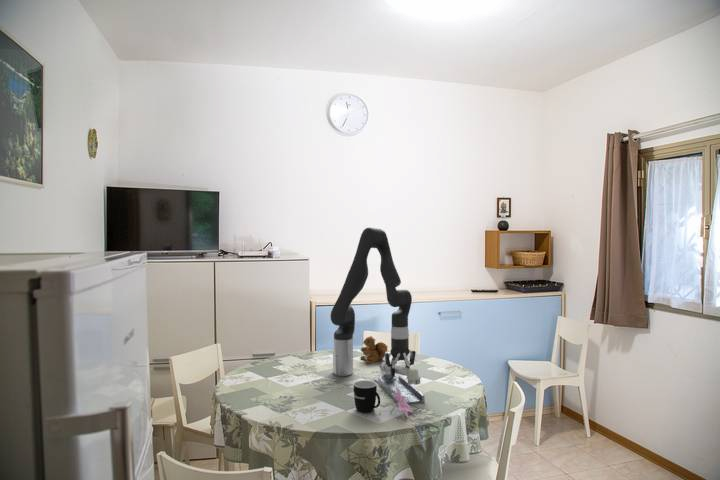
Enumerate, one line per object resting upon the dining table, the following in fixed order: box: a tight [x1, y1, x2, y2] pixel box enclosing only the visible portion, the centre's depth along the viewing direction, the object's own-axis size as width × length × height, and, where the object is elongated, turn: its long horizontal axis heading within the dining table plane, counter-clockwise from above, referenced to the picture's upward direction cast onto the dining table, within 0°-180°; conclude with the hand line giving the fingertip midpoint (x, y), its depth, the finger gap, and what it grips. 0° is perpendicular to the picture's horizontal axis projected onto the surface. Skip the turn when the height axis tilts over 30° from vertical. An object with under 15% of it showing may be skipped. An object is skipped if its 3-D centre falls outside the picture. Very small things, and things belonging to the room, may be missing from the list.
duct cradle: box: [374, 369, 426, 405], centre depth 196 cm, size 32×11×6 cm, turn 16°
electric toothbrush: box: [379, 361, 422, 386], centre depth 194 cm, size 5×7×25 cm
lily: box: [389, 385, 414, 419], centre depth 170 cm, size 12×12×10 cm
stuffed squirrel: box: [360, 335, 389, 364], centre depth 242 cm, size 10×14×13 cm
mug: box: [353, 379, 381, 414], centre depth 173 cm, size 12×9×10 cm
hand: (400, 375), depth 194 cm, fingers closed on electric toothbrush, 5 cm apart
